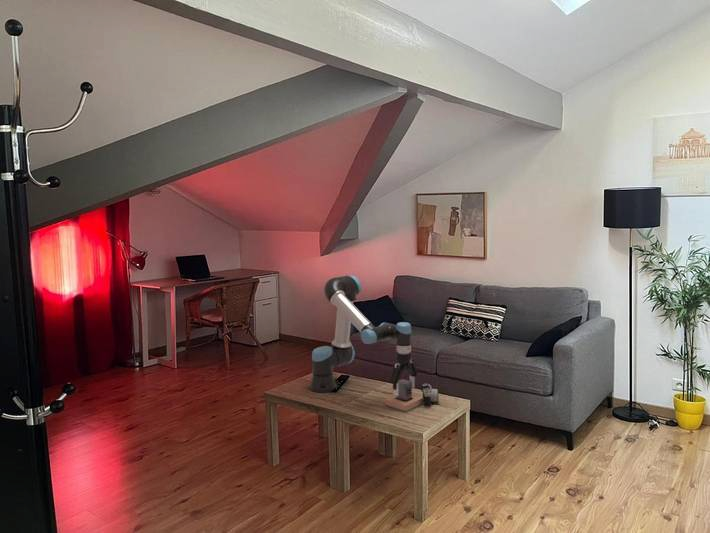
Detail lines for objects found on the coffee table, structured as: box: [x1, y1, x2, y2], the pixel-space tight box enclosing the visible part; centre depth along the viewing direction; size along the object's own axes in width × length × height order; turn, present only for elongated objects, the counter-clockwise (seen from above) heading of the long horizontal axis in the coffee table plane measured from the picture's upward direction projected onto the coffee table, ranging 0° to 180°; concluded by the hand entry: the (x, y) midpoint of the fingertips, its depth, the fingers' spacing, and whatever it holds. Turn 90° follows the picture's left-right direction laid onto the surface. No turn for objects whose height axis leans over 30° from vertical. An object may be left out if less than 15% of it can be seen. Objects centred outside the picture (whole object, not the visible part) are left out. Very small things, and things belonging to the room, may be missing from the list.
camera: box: [420, 383, 439, 409], centre depth 307 cm, size 16×9×10 cm, turn 174°
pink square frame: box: [384, 394, 424, 413], centre depth 305 cm, size 14×15×4 cm
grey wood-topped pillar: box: [397, 378, 413, 402], centre depth 304 cm, size 6×5×12 cm
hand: (404, 391), depth 304 cm, fingers open, 13 cm apart
